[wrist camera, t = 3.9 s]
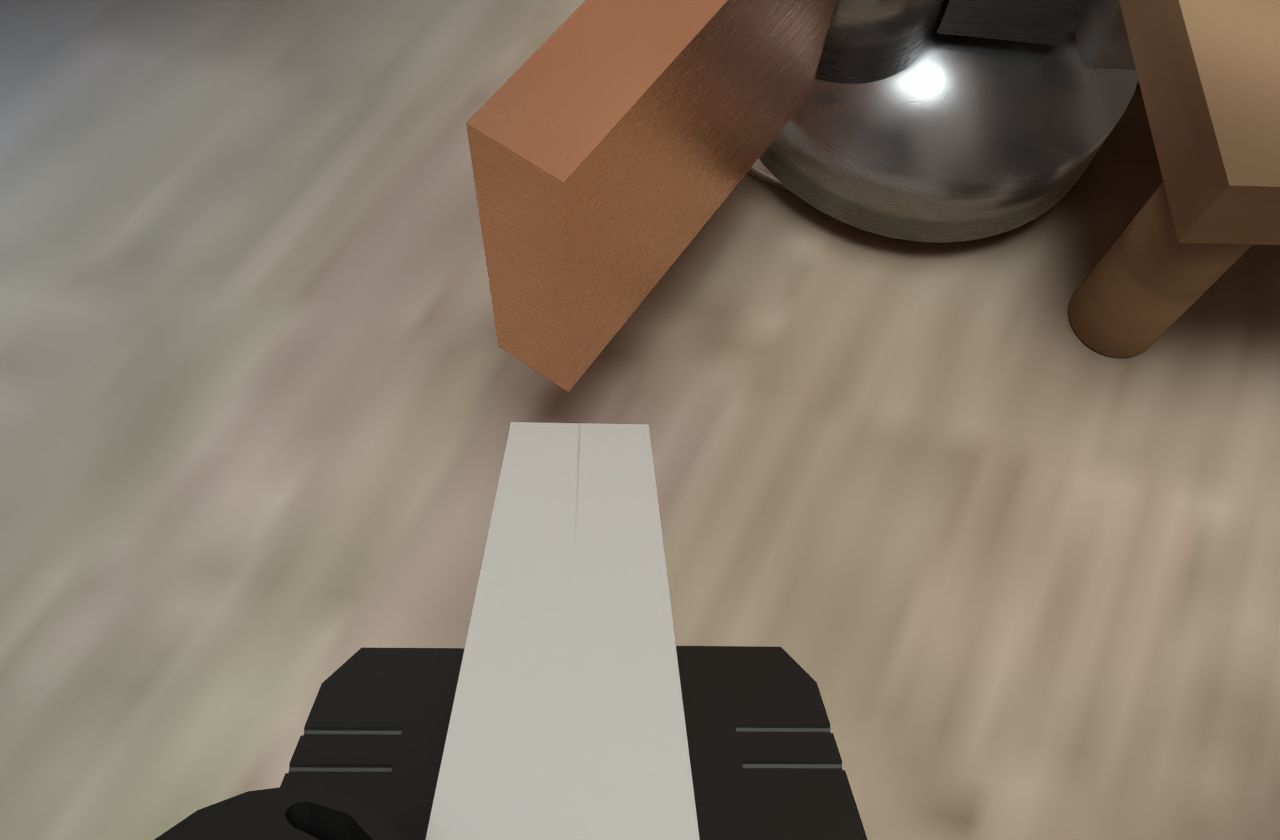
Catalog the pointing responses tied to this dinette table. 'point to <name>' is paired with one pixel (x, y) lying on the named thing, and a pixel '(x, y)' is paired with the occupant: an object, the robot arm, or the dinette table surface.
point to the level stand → (1185, 157)
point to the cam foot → (766, 139)
